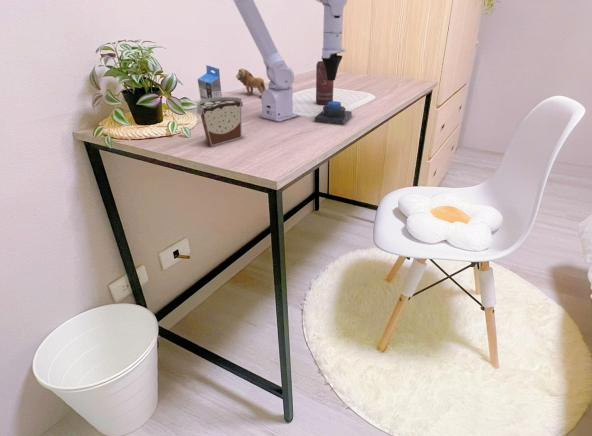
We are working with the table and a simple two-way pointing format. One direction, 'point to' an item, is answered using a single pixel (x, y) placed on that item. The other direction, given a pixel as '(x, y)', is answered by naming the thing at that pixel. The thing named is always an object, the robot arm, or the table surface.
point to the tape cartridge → (210, 84)
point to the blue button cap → (334, 105)
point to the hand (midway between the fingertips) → (331, 80)
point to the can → (323, 85)
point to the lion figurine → (250, 81)
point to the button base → (333, 116)
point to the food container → (221, 119)
